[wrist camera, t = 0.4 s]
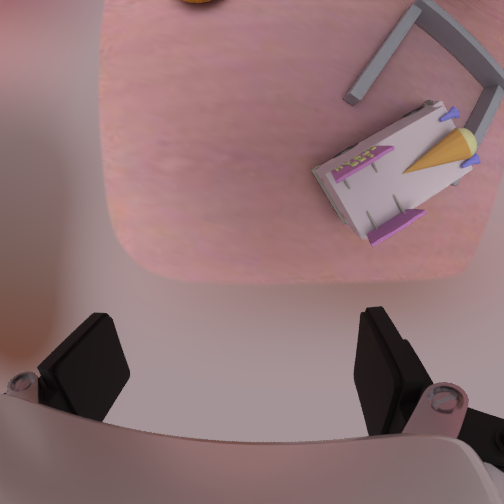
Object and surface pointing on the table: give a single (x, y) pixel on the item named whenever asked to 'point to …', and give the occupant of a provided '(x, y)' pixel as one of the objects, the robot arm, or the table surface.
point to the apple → (195, 1)
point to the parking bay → (457, 44)
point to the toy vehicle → (397, 171)
